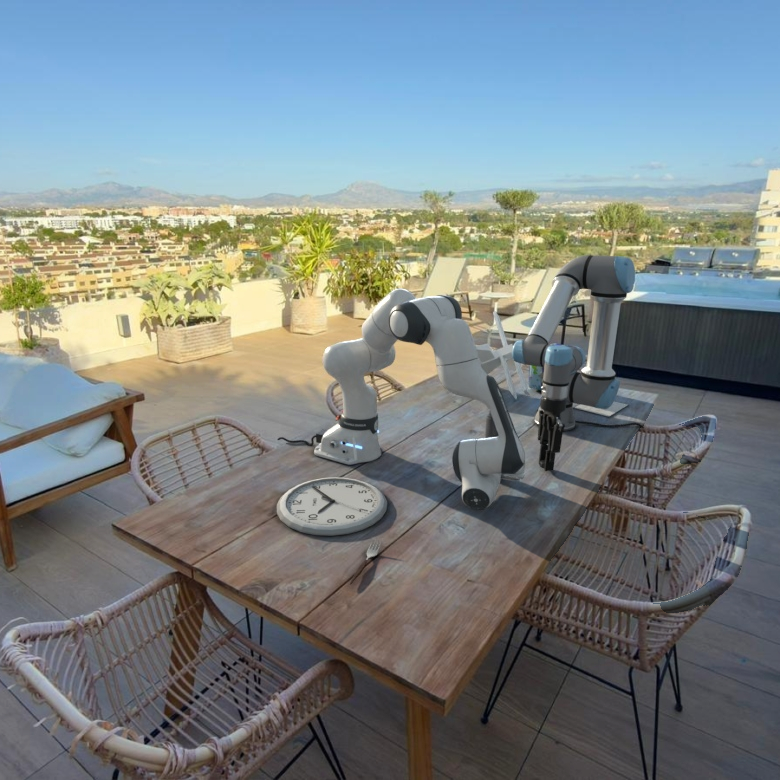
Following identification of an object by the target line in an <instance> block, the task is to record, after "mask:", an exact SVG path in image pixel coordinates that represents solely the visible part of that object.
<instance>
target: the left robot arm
mask: <svg viewBox="0 0 780 780" xmlns="http://www.w3.org/2000/svg"><path fill="white" fill-rule="evenodd" d="M462 312H463V310H462V307H461V305H460V303H459V301H458V300H457V299H455V298H454V297H452V296H449V295H444V294H437V295H430V296H424V297H420V298H416V296H415V295H414V294H413V293H412V292H411V291H409V290H407V289H405V288H395V289H393V290H391V291H390V292H389V293H388V294H386V295H385V296H384V297H383V298H382V299H381V300H380V301H379V302H378V303H377V304H376V306H375V307H374V308H373V309H372V311H371V312H370V313H369V315H368V316H367V317H366V318H365V320H364V322H363V323H362V325H361V336H362V337H361V338H358V339H352V340H346V341H339V342H337V343H334V344H331V345H329V346H328V347H326V348H325V349H324V352H323V354H322V366H323V369H324V370H325V372H326V373H327V374H328V375H329V376H331V377H332V378H333V379H334V380H335V381H336V382H337V383H338V385H339V387H340V390H341V396H342V410H341V412H340V413H339V414H338V415H337V416H336V417H335V421H337V423H336V424H334V425H333V426H331V427H330V428H329V429H324V428H323V429H321V430H319V431H317V432H316V433H315V434H314V435H313V436H312V437H311V438H310V439H311V443H310V442H308V441H307V440H304V439H297V440H290V439H288V438H286V437H283V436H279V437H278V438H277V441H280V440H283V441H285V442H287V443H291V444H295V443H296V444H297V443H304V444H306V445H308V446H311V447H312V446H314V443H318V444H317V445H316V446H315V448H314V451H313V454H314V456H316V457H320V458H324V459H327V460H331V461H334V462H338V463H340V464H341V463H342V464H344V465H349V466H351V465H356V464H361V463H368V462H372V461H375V460H378V458H380V457H381V456H382V450H381V448H380V442H379V441H380V440H379V435H378V434H379V433H380V430H379V413H378V393H377V390H376V389H375V388H374V387H373V386H372V385H370V384H369V383H366V381H365V380H366V379H365V374H369V373H373V372H379V371H381V370H384V369H387V368H388V367H390V366H391V365H393V364H394V362H395V360H396V355H397V354H396V348H395V344H396V343H397V342H398V341H400V342H404V343H410V344H414V345H419V346H422V345H424V343H428V344H429V345H430V346H431V348H432V350H433V354H434V361H435V366H436V367H435V368H436V371H437V375H438V379H439V381H440V382H439V383H440V384H441V385H442V387H443V388H444V389H445V390H446V391H448V392H449V393H452V394H453V395H456V396H458V397H462V398H463V397H464V398H466V399H472V400H475V401H478V402H480V403H482V404H484V405H485V406H486V407H487V409H488V410H489V411H490V413H491V415H492V418H493V421H494V423H495V426H496V429H497V432H498V434H499V436H496V437H488V438H485V437H480V438H479V437H476V438H467V439H461V440H460V441H458V443H456V445H455V448H454V449H453V452H452V459H451V462H452V468H453V471H454V475H455V479H456V480H458V481H459V482H460V483H461V499H462V502H463V504H464V505H465V506H466V507H468V508H469V509H471V510H474V511H482V510H486V509H487V508H489V507H490V506H491V505H492V504H493V502H494V501H495V498H496V496H497V493H498V489H499V486H500V484H501V481H502V480H506V481H512V482H518V481H520V480H524V478H525V470H526V453H525V448H524V446H523V444H522V441H521V440H520V438H519V435H518V433H517V431H516V428H515V426H514V423H513V420H512V417H511V415H510V412H509V409H508V407H507V404H506V401H505V398H504V396H503V392H502V390H501V388H500V386H499V384H498V382H497V381H496V378H495V377H494V376H492V375H489V374H486V373H485V372H484V370H483V369H482V367H481V365H480V363H479V359H478V354H477V349H476V346H477V345H476V342H475V340H474V336H473V332H472V331H471V328H470V326H469V323H467V321H466V320H463V319H462V318H463V313H462ZM314 439H315V442H314Z"/></svg>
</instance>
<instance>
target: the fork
mask: <svg viewBox="0 0 780 780" xmlns="http://www.w3.org/2000/svg"><path fill="white" fill-rule="evenodd" d="M376 540H377V543H376ZM379 540H380V542H379ZM373 541H374V542H373ZM382 541H383V539H379V538H378V539H377V538H375V540H374V538H372V540H371V542H370V544H369V547H368V549H367V551H366V556H367V557H366V558H365V559H364V561H362V563H361V564H360V565H359V566H358V567H357V569H356V571H355V573H354V575H353V577H352V579H351V581H350V583H349V585H352V584H353V583H354V582H355V581H356V579H357V578H358V577H359V576H360V574H361V573H363V571H364V569H365V567H366V564H367V563H368V560H369V559H371V558H374V557H376V556H377V555H378V554H379V551H380V548H381V544H382ZM378 543H379V545H378ZM372 544H373V545H372Z"/></svg>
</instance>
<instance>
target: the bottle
mask: <svg viewBox="0 0 780 780" xmlns="http://www.w3.org/2000/svg"><path fill="white" fill-rule="evenodd" d="M484 433H485V434H484V438H488V437H496V436H499V434H498V432H497V429H496V426H495V423H494V421H493V418H492V415H491V413H490V410H489V411H488V412H487V414H486V420H485V431H484Z"/></svg>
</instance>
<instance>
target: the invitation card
mask: <svg viewBox="0 0 780 780" xmlns="http://www.w3.org/2000/svg"><path fill="white" fill-rule="evenodd" d="M628 406H629V404H627V403H623V402H618V401H614V402H613V404H612V405H611V406H610V407H609V408H608V409H601V408H595V407H591V406H586V405H581V404H578V405H575V406H574V407H573V409H575V410H581V411H584V412H587V413H593V414H596V415H600V416H604V417H608V418H609V417H611V416H613V415H614V414H616V413H617V412H619V411H621V410H623V409H624V408H626V407H628Z"/></svg>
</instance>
